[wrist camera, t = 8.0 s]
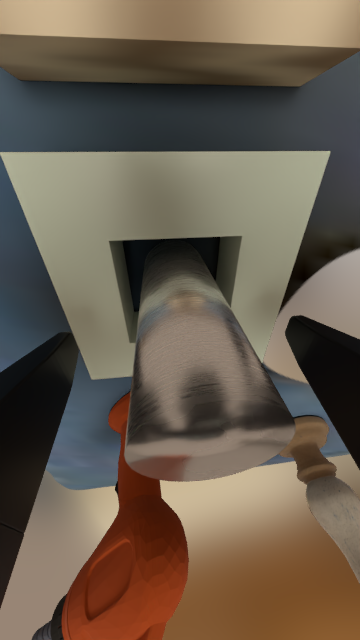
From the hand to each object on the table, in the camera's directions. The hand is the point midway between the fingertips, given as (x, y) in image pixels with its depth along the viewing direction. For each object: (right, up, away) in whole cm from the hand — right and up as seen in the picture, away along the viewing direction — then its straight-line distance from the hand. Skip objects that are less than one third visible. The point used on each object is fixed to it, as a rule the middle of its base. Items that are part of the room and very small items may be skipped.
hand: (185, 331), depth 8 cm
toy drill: (-7, -12, +16) cm, 21 cm away
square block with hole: (-1, +4, +5) cm, 6 cm away
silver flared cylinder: (-1, +4, +5) cm, 6 cm away
